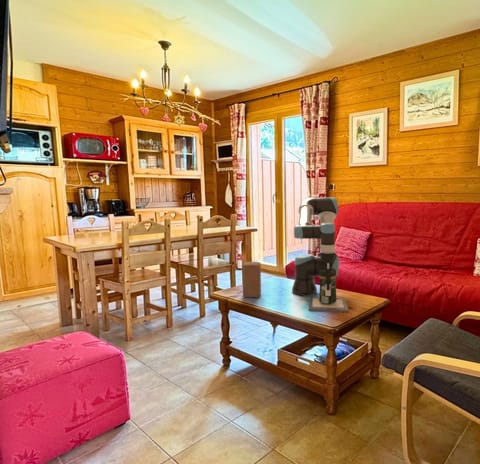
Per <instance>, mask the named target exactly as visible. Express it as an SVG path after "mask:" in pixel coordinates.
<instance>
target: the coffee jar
mask: <svg viewBox="0 0 480 464" xmlns="http://www.w3.org/2000/svg"><path fill="white" fill-rule="evenodd" d="M318 279H319V294H318V298H319V302H321V303H322V304H332V303H334V302H336V300H337V298H338V297H337V276H336V270H335V269H333V268H331V296H325V284H324V282H326V271H325V269H324V270H321V271H319V276H318Z"/></svg>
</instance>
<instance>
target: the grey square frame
mask: <svg viewBox="0 0 480 464" xmlns="http://www.w3.org/2000/svg"><path fill="white" fill-rule="evenodd" d="M308 311H309V312H332V313H349V311H350V310H349V308H348V304H347V301H346V298H342V297H341V298H338V297H337V300H336V302H334V303H332V304H322V303H321V302H319V297H313V296H312V297H308Z"/></svg>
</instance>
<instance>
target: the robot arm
mask: <svg viewBox="0 0 480 464" xmlns="http://www.w3.org/2000/svg"><path fill="white" fill-rule="evenodd" d="M298 214H299V218H298V225H295V226H293V227H294V228H293V234H294V238H295V239H298V240H299V239H300V240H302V239H303V240H305V239H306V240H308V239H309V240H310V239H316V240H317V239H319V253H317V256H315V255H314V254H313V253H311V254H310V253H305V254H299V255H297V256H296V257H295V258H294V282H293V285H292V289H291V292H292V293H293V294H294V295H298V296H314V295H316V294H317V293H318V289H317V286H316V282H315V277H319V271H321V270H324V269H325V271H326V282H324V284H325V296H331V268H333V269H335V270H336V277H337V276H338V274H339V269H340V268H339V267H340V260H341V259H340V257H338V253H336V225H335V222H334V221H335V219H336V218H337V216H338V215H339V205H338V200H337V198H336V197H331V196H328V197H327V196H326V197H310V198H307V199H304V201H303V202H302V203H300V205H299V207H298ZM313 216H317V218H318V219H319V224H318V225H312V222H313V220H312V219H313Z"/></svg>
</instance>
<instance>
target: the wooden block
mask: <svg viewBox="0 0 480 464" xmlns="http://www.w3.org/2000/svg"><path fill="white" fill-rule="evenodd" d="M241 270H242V271H241V273H242V276H241V279H242V297H243V298H245V297H259V298H260V296H261V294H262V277H261V275H262V274H261V273H262V271H261V262H259V261H245V262H244V263H243V264H242V266H241Z"/></svg>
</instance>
